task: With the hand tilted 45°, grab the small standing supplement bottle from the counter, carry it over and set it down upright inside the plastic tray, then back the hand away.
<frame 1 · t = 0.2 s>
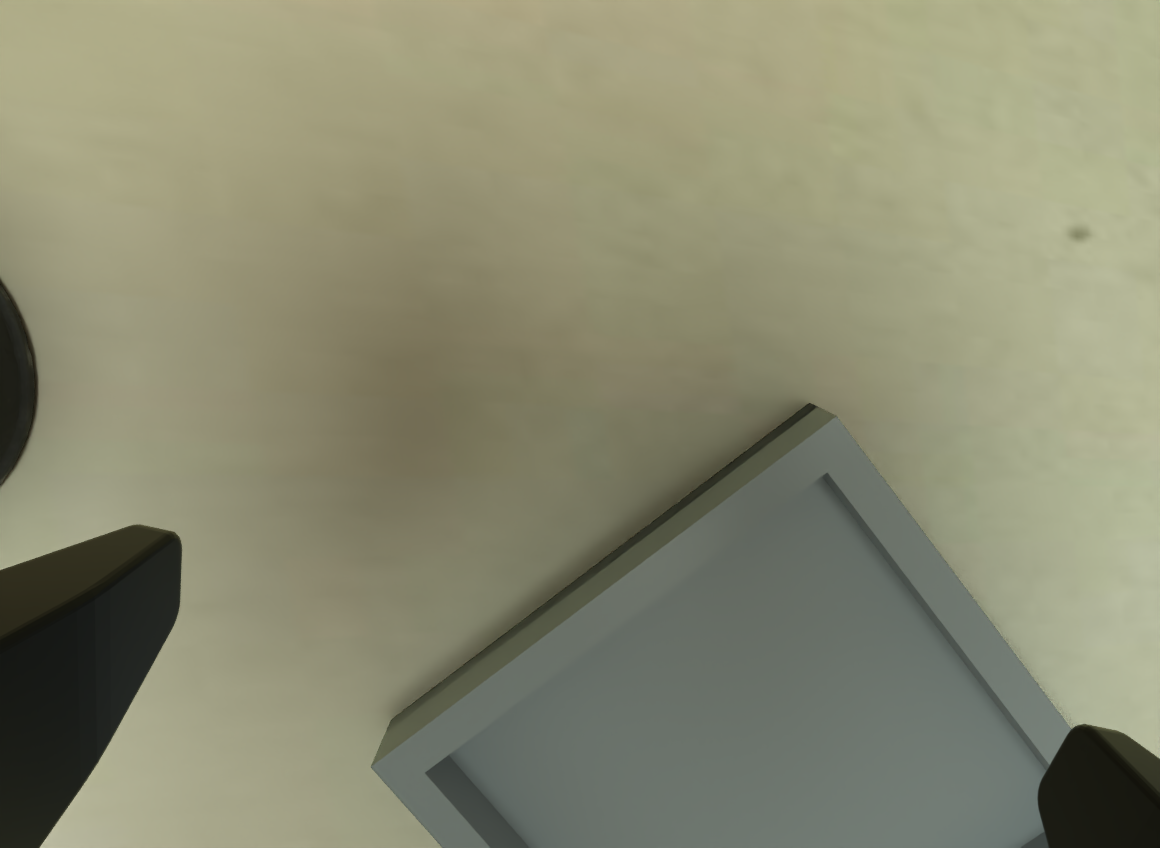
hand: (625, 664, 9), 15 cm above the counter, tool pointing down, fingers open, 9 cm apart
tray: (752, 759, 25), on the counter
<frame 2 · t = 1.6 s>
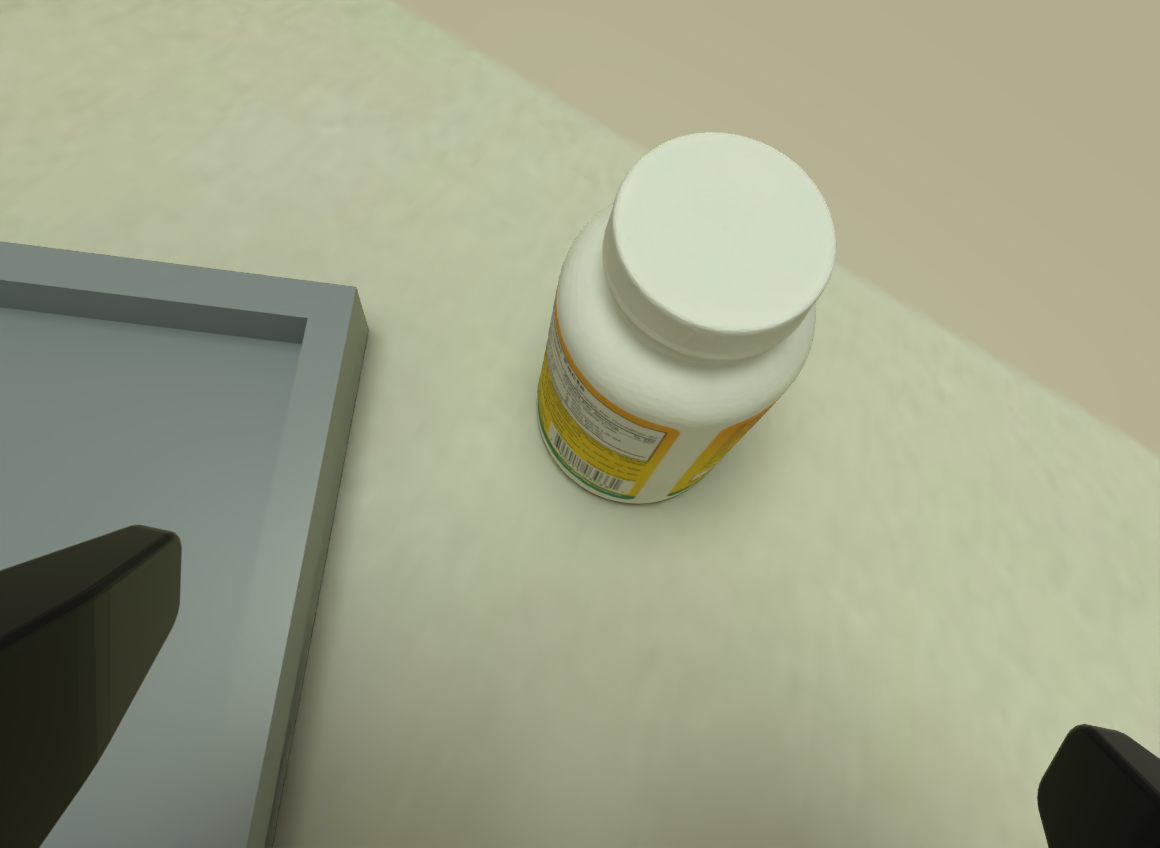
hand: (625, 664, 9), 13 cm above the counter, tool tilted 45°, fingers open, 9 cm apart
tray: (2, 571, 21), on the counter
supplement bottle: (631, 415, 24), on the counter
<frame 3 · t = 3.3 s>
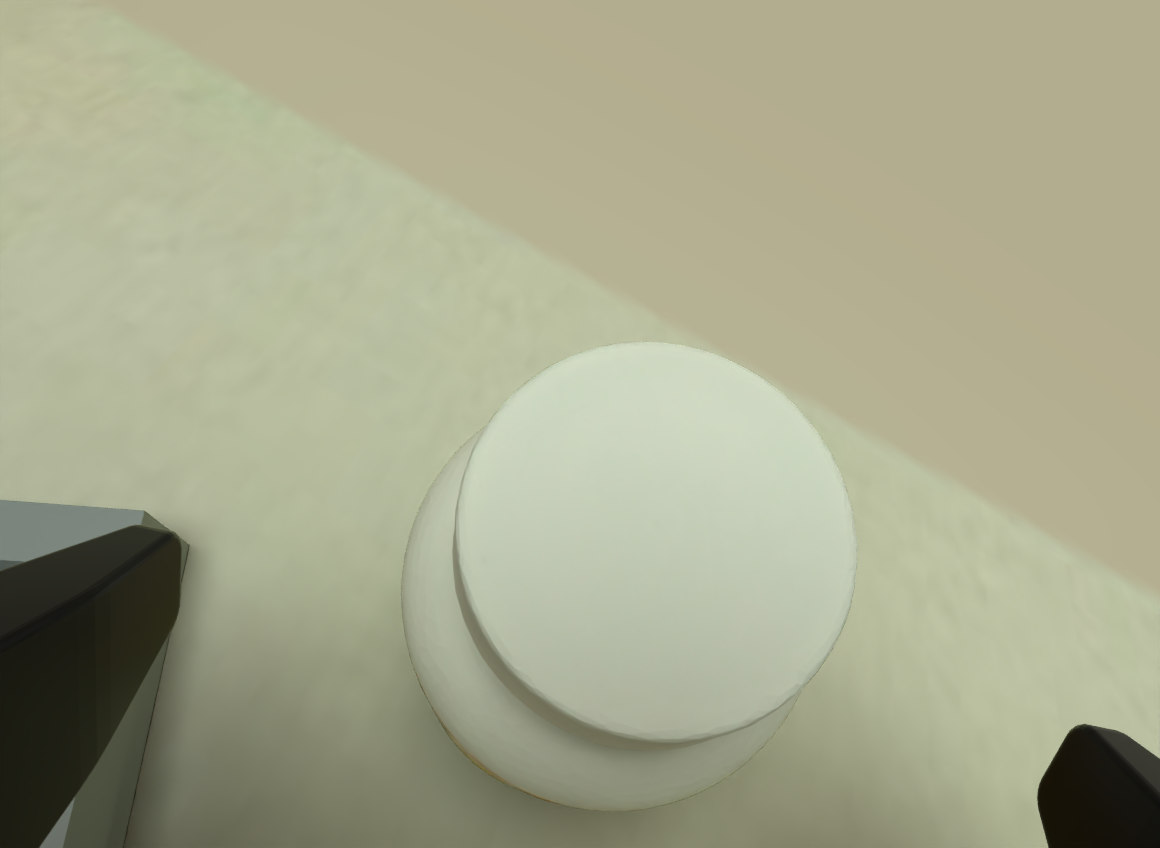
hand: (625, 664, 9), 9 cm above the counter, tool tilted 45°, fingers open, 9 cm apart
supplement bottle: (562, 648, 17), on the counter
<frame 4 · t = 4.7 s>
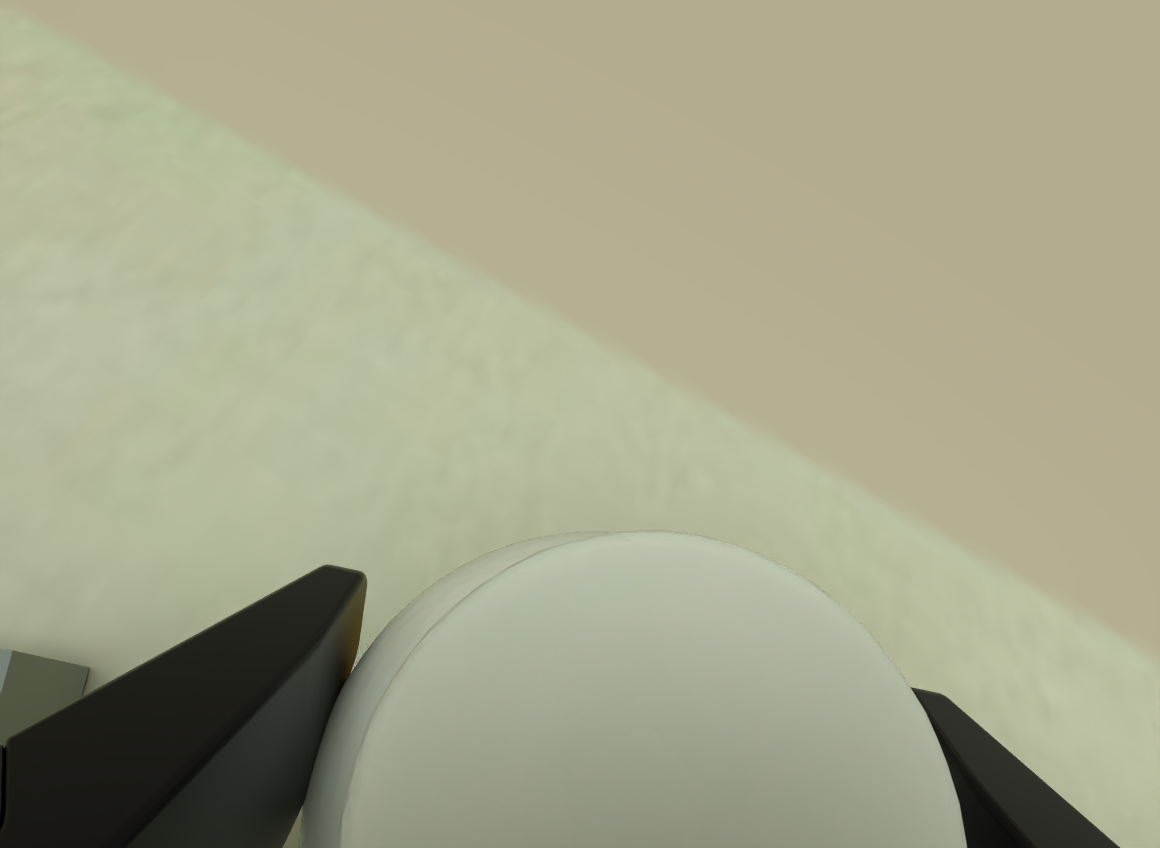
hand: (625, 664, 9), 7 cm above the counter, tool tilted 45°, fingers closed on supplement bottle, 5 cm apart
supplement bottle: (543, 789, 14), on the counter, touching gripper
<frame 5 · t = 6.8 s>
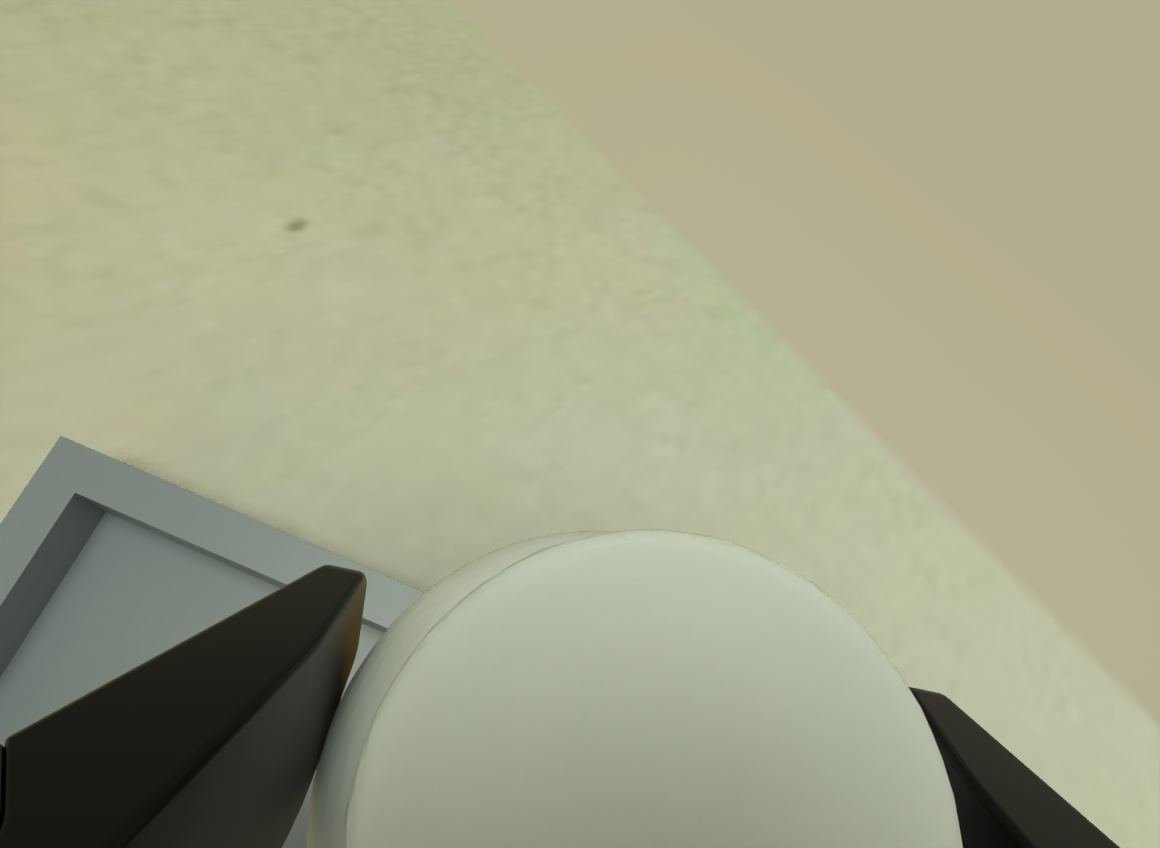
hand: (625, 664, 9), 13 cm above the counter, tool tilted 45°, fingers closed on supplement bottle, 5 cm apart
supplement bottle: (548, 786, 14), point 6 cm above the counter, touching gripper
when the fingers open (8 cm above the counter, at t = 8.8 s): supplement bottle stays where it is, resting on tray.
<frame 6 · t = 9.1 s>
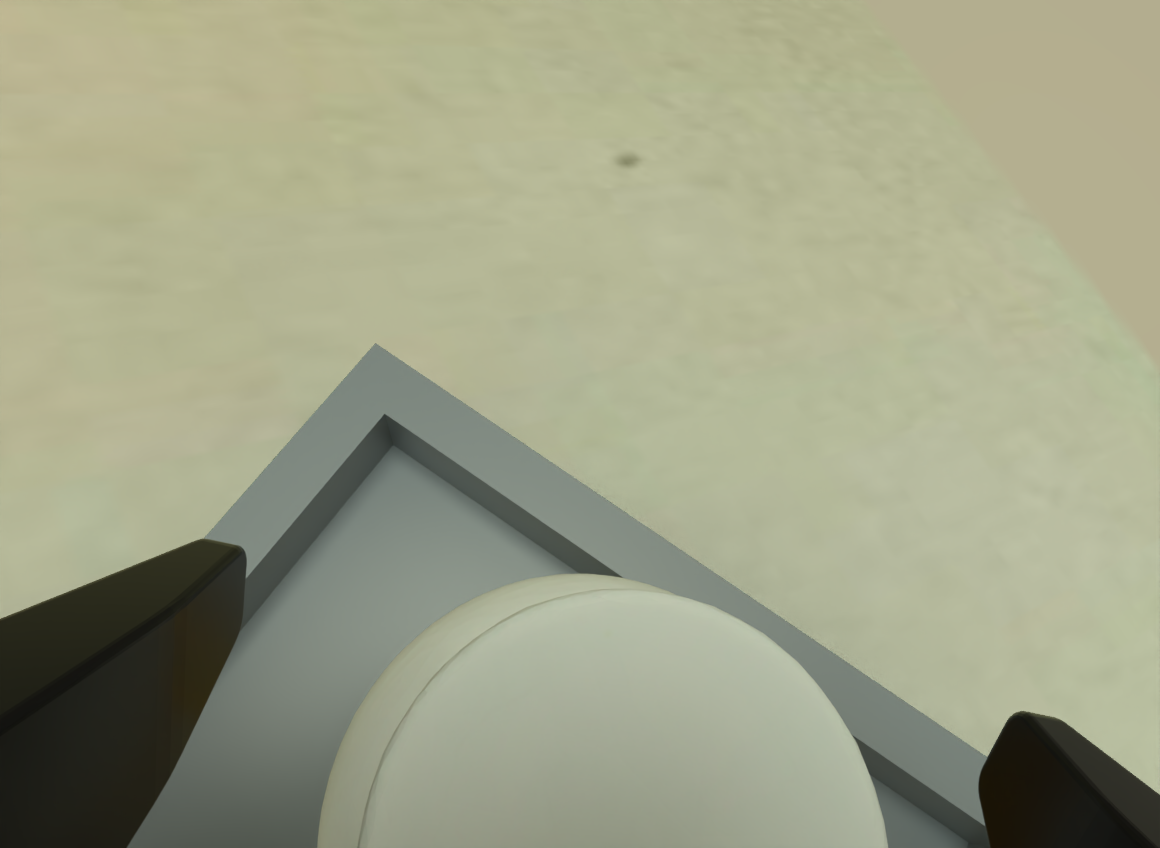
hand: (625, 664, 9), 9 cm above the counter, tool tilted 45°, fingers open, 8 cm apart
supplement bottle: (536, 799, 15), point 1 cm above the counter, touching tray
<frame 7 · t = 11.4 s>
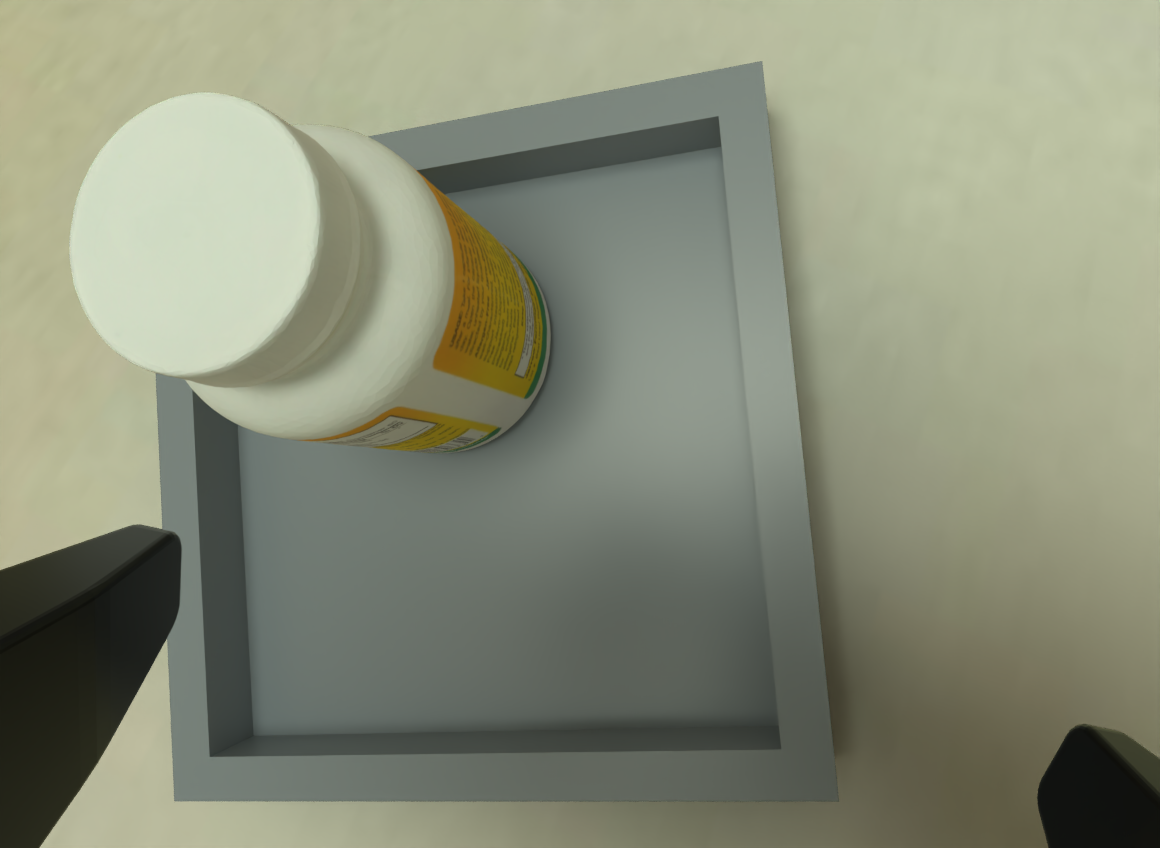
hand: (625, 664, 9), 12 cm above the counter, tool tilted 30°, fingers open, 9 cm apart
tray: (489, 455, 22), on the counter
supplement bottle: (455, 344, 21), point 1 cm above the counter, touching tray
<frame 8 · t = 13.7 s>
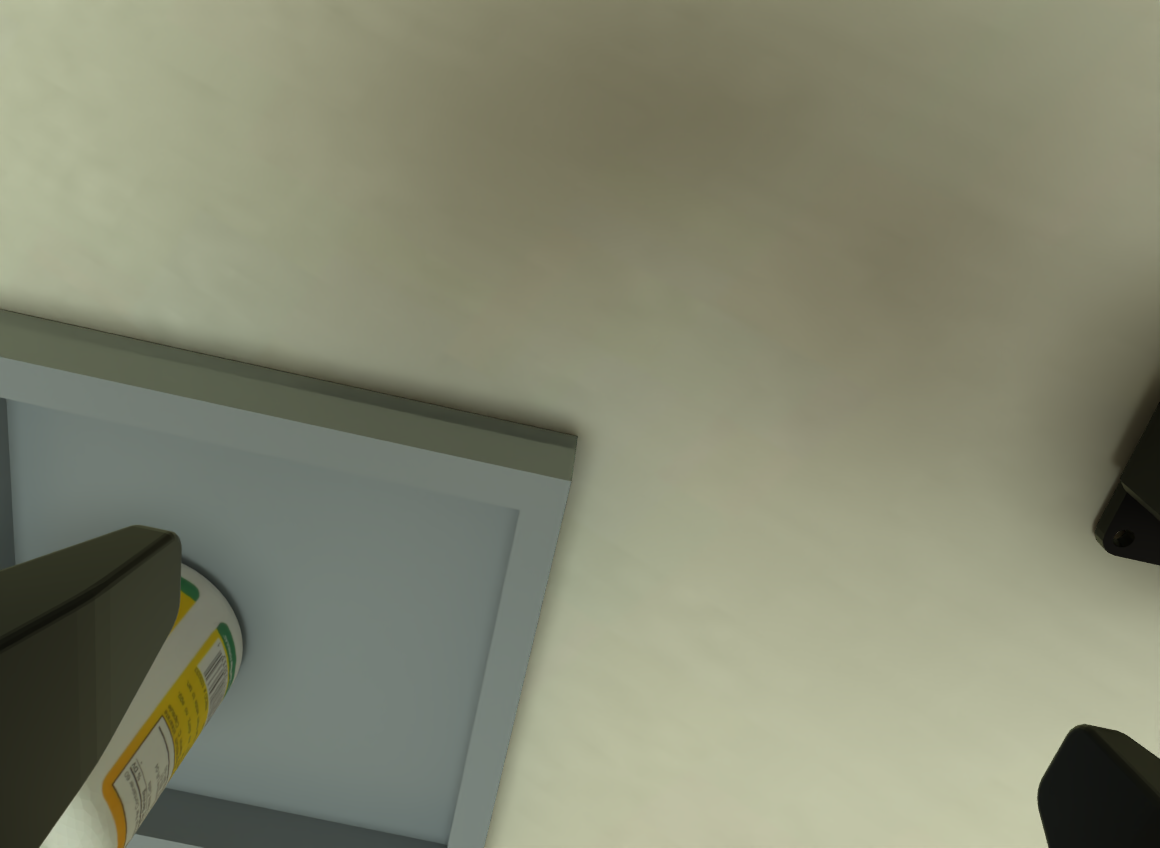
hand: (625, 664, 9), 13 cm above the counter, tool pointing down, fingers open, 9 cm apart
tray: (263, 614, 25), on the counter
supplement bottle: (155, 620, 24), point 1 cm above the counter, touching tray
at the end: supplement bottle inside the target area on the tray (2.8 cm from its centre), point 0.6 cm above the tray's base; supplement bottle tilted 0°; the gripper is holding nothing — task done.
